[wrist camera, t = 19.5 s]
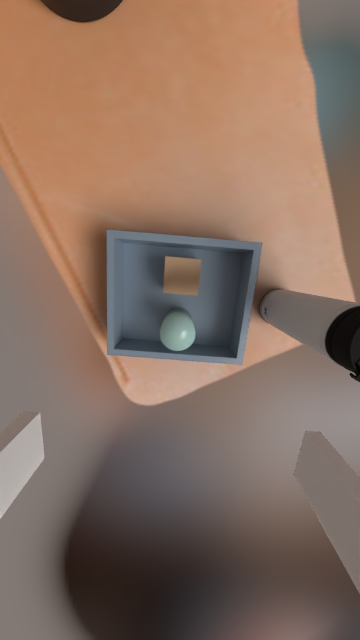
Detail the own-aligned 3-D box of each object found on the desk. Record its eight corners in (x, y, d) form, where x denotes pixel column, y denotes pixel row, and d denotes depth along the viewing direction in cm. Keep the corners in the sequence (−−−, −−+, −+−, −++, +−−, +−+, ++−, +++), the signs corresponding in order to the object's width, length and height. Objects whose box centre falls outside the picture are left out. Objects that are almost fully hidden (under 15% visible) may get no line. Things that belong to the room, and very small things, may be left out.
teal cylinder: (159, 312, 35) (154, 323, 28) (187, 303, 34) (189, 312, 28) (169, 339, 36) (166, 355, 29) (196, 330, 36) (199, 344, 29)
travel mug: (250, 315, 36) (333, 367, 16) (272, 282, 35) (391, 296, 15) (279, 331, 37) (390, 400, 17) (302, 300, 35) (451, 336, 16)
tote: (119, 236, 33) (106, 229, 27) (248, 247, 33) (262, 242, 27) (118, 341, 37) (107, 354, 31) (232, 350, 37) (242, 364, 32)
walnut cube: (167, 258, 33) (165, 256, 28) (198, 261, 33) (201, 259, 28) (165, 289, 34) (163, 292, 29) (195, 292, 34) (197, 295, 29)
